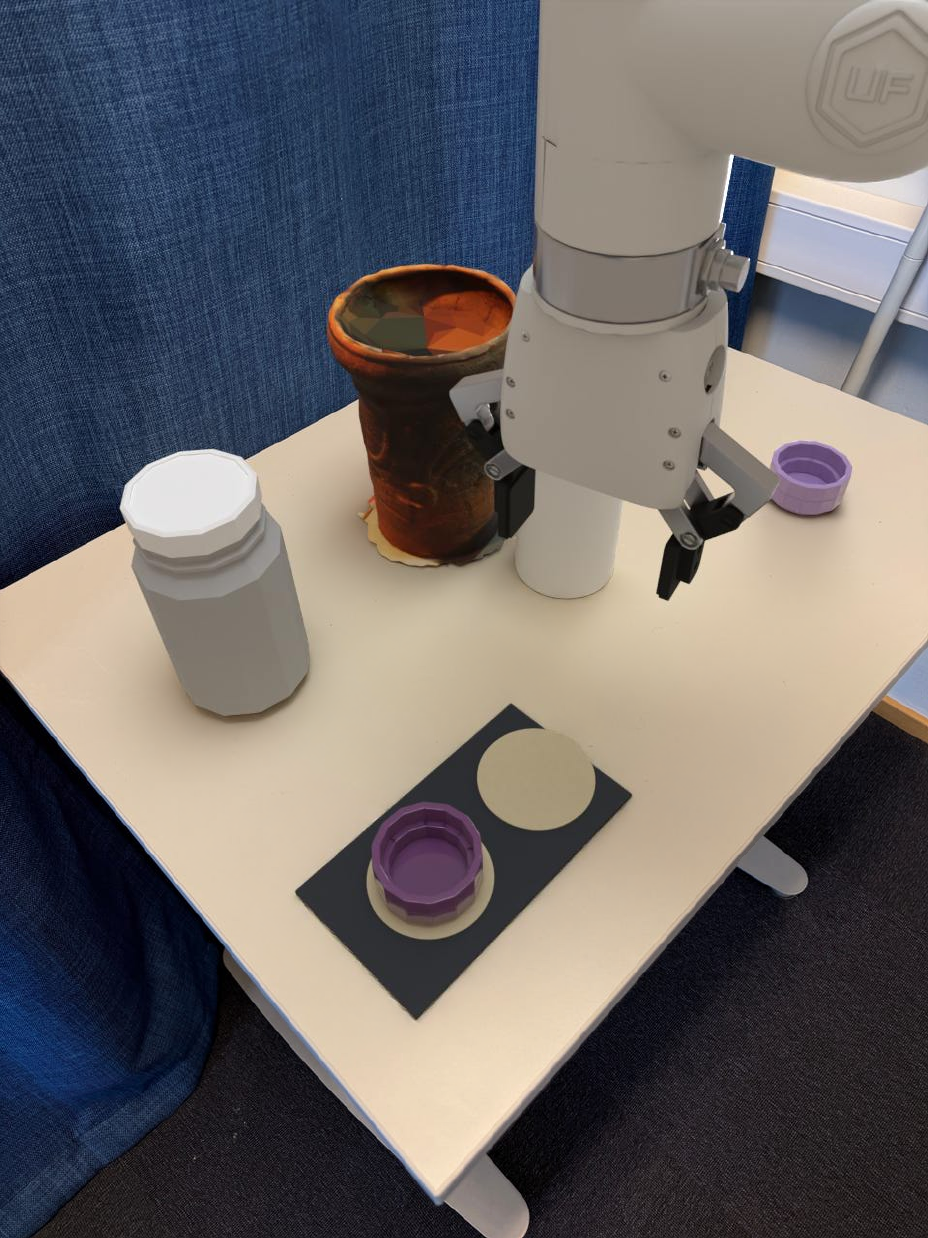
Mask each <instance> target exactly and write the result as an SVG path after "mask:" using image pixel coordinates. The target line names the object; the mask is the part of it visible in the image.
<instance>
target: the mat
mask: <svg viewBox="0 0 928 1238" xmlns="http://www.w3.org/2000/svg"><path fill="white" fill-rule="evenodd" d="M632 797H633V793H631V792H630V791H629V790H628V789H626V787H624V786H622V785H621V784H620V783H618V781H616V780H614V779H613V778H612V777H610V775H608V774H606V773H605V772H604V771H602V770H601V769H600V768H598V767H597V766H596V765H595V764H593V763H592V762H591V759H590V758H589V756H588V754H587V753H586V752H585V751H584V749H583V748H582V747H581V746H580V745H579V744H578V743H576V741H574V740H572V739H571V738H570V737H568V736H566V735H564V734H562V733H561V732H557V731H553V730H551V729H546V728H545V727H543V726H542V725H541V724H540V723H538V722H537V721H536V720H534V719H533V718H532V717H530V716H529V715H528V714H526V713H525V712H524V711H522V709H519V708H518V707H517V706H516V705H514V704H513V703H512V702H511V703H509V704H508V705H507V706H506V707H504V708H503V709H502V710H501V711H500V712H499V713H498V714H496V715H495V716H494V717H493V718H492V719H491V720H489V722H487V723H485V725H484V726H482V727H481V728H480V729H479V730H478V731H477V732H476V733H475V734H474V735H472V736H471V737H470V738H469V739H468V740H466V742H464V743H463V744H462V745H461V746H460V747H459V748H457V749H456V750H455V751H454V752H453V753H452V754H450V755H449V756H448V757H447V758H446V759H445V760H443V762H441V763H440V764H439V765H437V767H436V768H434V769H433V770H432V771H431V772H430V773H429V774H427V775H426V776H425V777H424V778H423V779H422V780H420V781H419V782H418V783H417V784H416V785H414V787H412V788H411V789H410V790H409V791H408V792H407V793H406V794H405V795H403V796H402V797H400V799H399V800H398V801H396V802H395V803H394V804H393V805H392V806H390V807H389V808H388V809H387V810H386V811H385V812H384V813H383V814H381V815H380V816H379V817H378V818H377V819H376V820H375V821H373V822H372V823H371V824H370V825H369V826H368V827H366V828H365V829H364V830H363V831H362V832H361V833H360V834H359V835H357V836H356V837H355V838H354V839H353V840H351V841H350V842H349V843H348V844H347V845H346V846H345V847H343V848H342V849H341V850H340V851H339V852H338V853H337V854H335V855H334V856H333V857H332V858H331V859H330V860H328V861H327V862H326V863H325V864H324V865H323V866H322V867H320V868H319V869H318V870H317V871H315V873H313V874H312V875H311V876H310V877H309V878H308V879H306V881H304V882H303V883H302V884H301V885H299V886H298V887H297V888H296V889H295V890H294V893H295V895H296V896H297V897H298V898H299V899H300V900H301V901H302V902H303V903H304V905H305V906H306V907H308V909H309V910H311V911H312V913H313V914H314V915H315V916H316V917H317V918H318V919H319V920H320V921H321V922H322V923H323V924H324V925H325V926H326V928H327V929H328V930H330V932H332V934H333V935H334V936H335V937H336V938H337V939H338V940H339V941H340V942H341V944H343V945H344V946H345V947H346V948H347V949H348V950H349V951H350V953H351V954H353V955H354V957H355V958H356V959H357V960H358V961H359V962H360V963H361V964H362V965H363V966H364V968H366V970H368V971H369V972H370V973H371V974H372V976H373V977H374V978H375V979H376V980H377V981H378V982H379V983H380V984H381V985H382V986H383V987H384V988H385V989H386V991H388V992H389V993H390V994H391V995H392V996H393V997H394V998H395V1000H396V1001H397V1002H398V1003H399V1004H400V1005H401V1006H402V1007H403V1008H404V1009H405V1010H406V1011H407V1012H408V1013H409V1015H411V1016H412V1017H413V1019H415V1021H416V1020H418V1019H419V1018H420V1017H421V1016H422V1015H423V1014H424V1013H425V1012H426V1011H427V1010H428V1009H429V1008H430V1007H431V1006H432V1005H433V1003H435V1002H436V1001H437V1000H438V998H439V997H440V996H442V994H443V993H444V992H445V991H447V989H448V988H449V987H450V986H451V985H452V984H453V983H454V982H455V981H456V980H457V979H458V978H459V977H460V976H461V975H462V973H463V972H464V971H465V970H466V969H468V967H470V965H471V964H472V963H473V962H474V961H475V960H476V959H477V958H478V957H479V956H480V955H481V954H482V953H483V952H484V951H485V950H486V949H487V947H489V946H490V945H491V943H492V942H494V941H495V939H497V937H498V936H499V935H500V934H501V933H502V932H503V931H504V930H505V929H506V928H507V927H508V926H509V925H510V924H511V923H512V922H513V921H514V920H515V919H516V918H517V917H518V916H519V915H520V914H521V912H523V910H524V909H525V908H526V907H527V906H528V905H529V904H530V903H531V902H532V901H533V900H534V899H535V898H536V897H537V896H538V895H539V894H540V893H541V892H542V891H543V889H544V888H546V886H548V885H549V883H551V881H552V880H553V879H554V878H555V877H556V876H557V875H558V874H559V873H560V872H561V871H562V870H563V869H564V868H565V867H566V866H567V865H568V864H569V862H571V861H572V860H573V858H575V856H576V855H578V854H579V852H580V851H581V850H582V849H583V848H584V847H585V846H586V845H587V844H588V843H589V842H590V841H591V840H592V839H593V838H594V837H595V836H596V835H597V834H598V833H599V832H600V831H601V829H602V828H603V827H605V826H606V824H607V823H608V822H609V821H610V820H611V819H612V818H613V817H614V816H615V815H616V814H617V813H618V812H619V811H620V810H621V809H622V808H623V807H624V806H625V805H626V804H627V803H628V802H629V800H630V799H631V798H632ZM421 802H432V803H441V804H447V805H450V806H451V807H453V808H455V809H457V810H458V811H460V812H462V813H464V814H465V815H467V816H468V817H469V819H470V820H471V822H472V823H473V824H474V826H475V827H476V829H477V830H478V832H479V833H480V836H481V844H482V854H483V881H482V883H481V886H480V889H479V891H478V894H477V896H476V899H475V900H474V902H473V903H472V904H471V905H469V906H468V907H467V908H466V909H465V910H464V911H463V912H462V913H461V914H460V915H459V916H457V917H456V918H453V919H450V920H447V921H444V922H440V923H437V924H434V925H433V924H432V925H430V924H422V923H414V922H408V921H406V920H404V919H403V918H401V917H400V916H398V915H397V914H395V913H394V912H392V911H391V910H389V909H388V908H387V906H386V904H385V903H384V901H383V899H382V897H381V895H380V894H379V892H378V890H377V887H376V882H375V877H374V873H373V869H372V843H373V841H374V839H375V837H376V835H377V833H378V831H379V829H380V826H381V824H382V823H383V822H384V821H386V820H387V819H388V818H389V817H391V816H392V815H393V814H394V813H395V812H397V811H398V810H399V809H401V808H404V807H407V806H410V805H414V804H417V803H421Z"/></svg>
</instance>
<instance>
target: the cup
mask: <svg viewBox="0 0 928 1238" xmlns="http://www.w3.org/2000/svg"><path fill="white" fill-rule="evenodd" d="M623 505H624V500H621V499H618V498H615V497H612V496H609V495H606V494H603V493H600V492H598V491H595V490H592V489H589V488H586V487H583V486H580V485H577V484H574V483H572V482H569V481H566V480H563V479H560V478H557V477H554V476H552V475H549V474H546V473H544V472H541V471H538V470H536V475H535V503H534V510H533V512H532V514H531V515H530V516H529V517H528V519H527V520H526V521H525V522H524V523H523V525H522V526H521V527H520V528H519V530H518V531H517V532H516V533H515V551H514V552H515V553H514V565H515V570H516V573H517V575H518V577H519V578H520V580H521V581H522V582H523V583H524V584H525V585H526V586H527V587H529V588H530V589H531V590H533V591H535V592H537V593H538V594H542V595H544V596H547V597H551V598H555V599H566V600H567V599H569V600H571V599H578V598H583V597H584V598H585V597H587V596H589V595H592V594H595V593H596V592H598V591H600V590H601V589H603V588H604V587H605V586H606V585H607V584H608V582H609V581H610V580H611V578H612V575H613V572H614V567H615V563H616V561H615V560H616V555H617V548H618V540H619V531H620V527H621V526H620V525H621V520H622V519H621V518H622V513H623V512H622V511H623Z"/></svg>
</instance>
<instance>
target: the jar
mask: <svg viewBox="0 0 928 1238" xmlns="http://www.w3.org/2000/svg"><path fill="white" fill-rule="evenodd" d="M122 492H123V493H122V496H121V501H120V505H119V510H120V512H121V515H122V517H123V520H124V522H125V524H126V527H127V529H128V531H129V532H130V533H131V535H132V537H133V538H132V543H133V546H134V551H133V556H132V559H131V560H132V561H131V564H130V567H131V569H132V572H133V574H134V577H135V579H136V581H137V584H138V587H139V588H140V590H141V593H142V595H143V597H144V600H145V602H146V604H147V608H148V609H149V611H150V614H151V616H152V619H153V621H154V623H155V626H156V629H157V631H158V633H159V635H160V638H161V640H162V643H163V645H164V648H165V650H166V652H167V655H168V657H169V660H170V662H171V665H172V667H173V669H174V671H175V674H176V676H177V679H178V680H179V683H180V684H181V686H182V688H183V689H184V690H185V692H186V694H187V695H188V697H189V698H190V700H191V702H192V703H193V705H195V706H196V707H197V706H198V707H200V708H202V709H205V710H208V711H211V712H212V713H215V714H218V715H220V716H223V717H226V716H228V717H229V716H238V715H240V716H241V715H249V714H260V713H262V712H264V711H266V710H267V709H269V708H271V707H273V706H275V705H277V704H278V703H280V702H282V701H284V700H286V699H288V698H289V697H290V696H291V695H292V694H293V693H294V691H295V690H296V688H297V687H298V686H299V684H300V683H301V682H302V680H303V679H304V677H305V676H306V675H307V673H308V672H309V666H310V665H309V663H310V662H309V661H310V660H309V659H310V658H309V656H310V643H309V639H308V635H307V631H306V626H305V622H304V617H303V614H302V610H301V605H300V602H299V601H300V600H299V597H298V592H297V588H296V585H295V584H296V583H295V581H294V576H293V572H292V568H291V563H290V559H289V554H288V550H287V546H286V543H285V538H284V537H285V536H284V534H283V528H282V526H281V525H280V524H279V522H278V521H276V519H275V518H274V517H273V516H272V514H271V513H270V512H269V511H268V510H267V507H266V506H265V505H264V503H263V502H262V499H263V492H262V488H261V485H260V480H259V476H258V474H257V472H256V471H255V470H254V469H253V468H252V467H251V465H249V463H247V461H246V460H245V459H244V458H243V457H242V456H239V455H237V454H233V453H229V452H225V451H222V450H219V449H215V448H207V449H194V450H183V451H177V452H175V453H172V454H169V455H167V456H165V457H162V458H160V459H157V460H155V461H153V462H150V463H147V464H146V465H145V466H144V467H143V468H141V470H139V471H138V473H136V474H135V475H134V476H133V477H132V478H131V479H130V480H129V481H128V482H127V483H126V484H125V485H124V488H123V491H122Z"/></svg>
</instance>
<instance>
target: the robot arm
mask: <svg viewBox="0 0 928 1238" xmlns="http://www.w3.org/2000/svg"><path fill="white" fill-rule="evenodd" d="M538 24H539V25H538V26H539V28H538V61H537V64H538V65H537V94H536V95H537V96H536V97H537V99H536V135H535V140H536V141H535V168H534V169H535V171H534V173H535V174H534V176H535V177H534V210H533V212H534V213H533V240H532V241H533V245H532V246H533V247H532V264H531V265H530V266H529V268H527V269H526V270H525V272H523V275H522V276H521V278H520V283H519V286H518V289H517V293H516V301H515V306H514V310H513V314H512V319H511V324H510V329H509V334H508V340H507V346H506V353H505V361H504V368H503V369H499V370H494V371H490V372H485V373H480V374H476V375H471V376H466V377H464V378H462V379H461V380H460V381H459V382H458V383H457V384H456V385H455V386H454V387H453V388H452V389H451V390H450V392H449V395H450V398H451V400H452V402H453V404H454V406H455V408H456V410H457V413H458V415H459V417H460V419H461V421H462V422H464V423H465V425H466V427H465V435H466V437H467V439H468V440H469V441H470V442H471V444H472V445H473V446H474V447H475V449H476V450H477V451H478V452H479V454H480V455H481V456H482V457H483V459H484V460H485V461H486V464H485V465H484V470H485V473H486V474H487V476H488V477H490V478H491V479H493V480H494V511H495V512H496V513H498V536H499V537H502V538H504V539H503V540H509V539H512V538H513V537H514V536H516V532H517V531H518V530H519V528H520V527H521V526H522V525H523V523H524V522H525V521H526V520H527V519H528V517H529V516H530V515H531V514H532V512H533V510H534V503H535V475H536V470H538V471H541V472H544V473H546V474H549V475H552V476H554V477H557V478H560V479H563V480H566V481H569V482H572V483H574V484H577V485H580V486H583V487H586V488H589V489H592V490H595V491H598V492H600V493H603V494H606V495H609V496H612V497H615V498H618V499H621V500H623V502H624V501H625V502H628V503H631V504H634V505H638V506H641V507H644V508H647V509H653V510H657V511H658V513H659V514H660V516H661V517H662V519H663V520H664V522H665V523H666V525H667V526H668V528H669V529H670V531H671V535H670V537H669V538H668V540H667V541H666V542H665V546H664V549H663V553H662V559H661V565H660V571H659V575H658V580H657V586H656V592H655V594H656V595H658V598H659V599H661V600H664V601H666V602H670V601H669V600H670V599H671V598H672V596H673V595H674V593H675V591H676V590H677V588H678V587H679V585H680V583H681V582H682V583H685V584H688V585H690V584H691V583H692V581H693V580H694V578H695V576H696V575H697V572H698V570H699V567H700V565H701V562H702V561H701V560H702V556H703V551H704V547H705V543H706V541H709V540H711V539H714V538H717V537H721V536H723V535H725V534H729V533H731V532H733V531H736V530H738V529H739V528H740V526H741V525H742V523H744V522H745V521H746V520H748V519H749V518H751V517H752V516H753V515H755V514H756V513H757V512H758V511H760V509H762V508H763V507H764V506H765V505H767V504H768V503H769V502H770V501H771V500H772V499H771V498H772V496H773V494H774V492H775V490H776V489H777V487H778V485H779V478H778V476H777V475H776V474H775V473H774V472H772V471H771V470H770V469H769V468H770V467H768V466H766V465H765V464H764V463H763V462H761V461H760V459H758V458H757V457H755V455H753V454H752V453H751V452H750V451H748V449H746V448H744V446H742V445H741V444H740V443H739V442H738V441H736V440H735V439H734V438H733V437H732V436H730V435H729V434H728V433H726V432H725V430H723V429H722V428H721V426H720V425H721V419H722V412H723V411H722V410H723V404H724V396H725V395H724V394H725V385H726V377H727V376H726V375H727V363H728V348H729V347H728V346H729V310H728V307H729V306H728V295H727V293H726V291H725V290H727V291H731V292H735V293H740V292H741V290H743V289H742V288H743V287H744V285H745V283H746V280H747V276H748V274H749V270H750V265H751V259H750V258H749V257H746V256H743V255H742V256H741V255H737V254H734V250H732V249H729V248H726V239H724V236H725V231H726V225H727V224H726V223H725V222H722V220H723V214H724V209H725V204H726V199H727V193H728V187H729V184H730V183H729V181H730V177H731V171H732V166H733V160H734V156H735V157H739V158H741V159H746V160H749V161H752V162H756V163H759V164H763V165H766V166H770V167H772V168H773V167H774V168H777V169H781V170H783V171H787V172H791V173H795V174H798V175H802V176H805V177H810V178H814V179H818V180H824V181H830V182H836V183H844V184H845V183H846V184H870V183H873V184H874V183H883V182H889V181H893V180H898V179H901V178H903V177H907V176H910V175H913V174H916V173H919V172H921V171H923V170H925V169H927V168H928V0H539V23H538ZM499 401H501V410H500V419H499V418H498V417H497V415H496V414H495V413H494V412H492V411H491V410H489V408H490V406H489V404H488V403H494V402H499ZM707 469H709V470H710V471H711V472H713V473H714V474H715V475H716V476H717V477H719V478H720V479H721V480H723V482H725V483H726V484H727V485H728V486H729V487H731V488H732V489H733V491H732V492H729V493H726V494H724V495H721V496H719V497H716V498H715V496H714V495H713V493H712V492H711V490H710V489H709V487H708V485H707V484H706V482H705V480H704V478H703V477H702V475H701V474H700V472H699V471H698V470H701V471H706V470H707Z"/></svg>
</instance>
